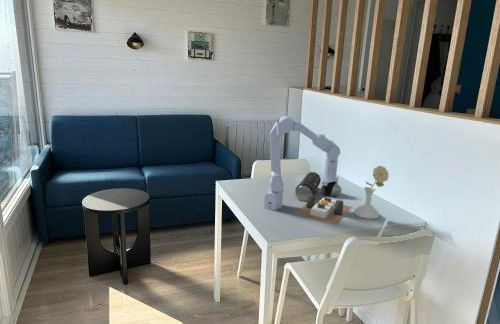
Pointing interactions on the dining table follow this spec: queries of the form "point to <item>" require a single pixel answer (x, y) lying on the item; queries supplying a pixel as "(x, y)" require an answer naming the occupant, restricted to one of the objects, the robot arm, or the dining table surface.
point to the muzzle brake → (307, 186)
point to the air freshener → (334, 189)
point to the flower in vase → (367, 209)
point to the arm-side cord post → (310, 201)
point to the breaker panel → (330, 217)
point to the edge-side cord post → (338, 207)
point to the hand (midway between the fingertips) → (327, 196)
